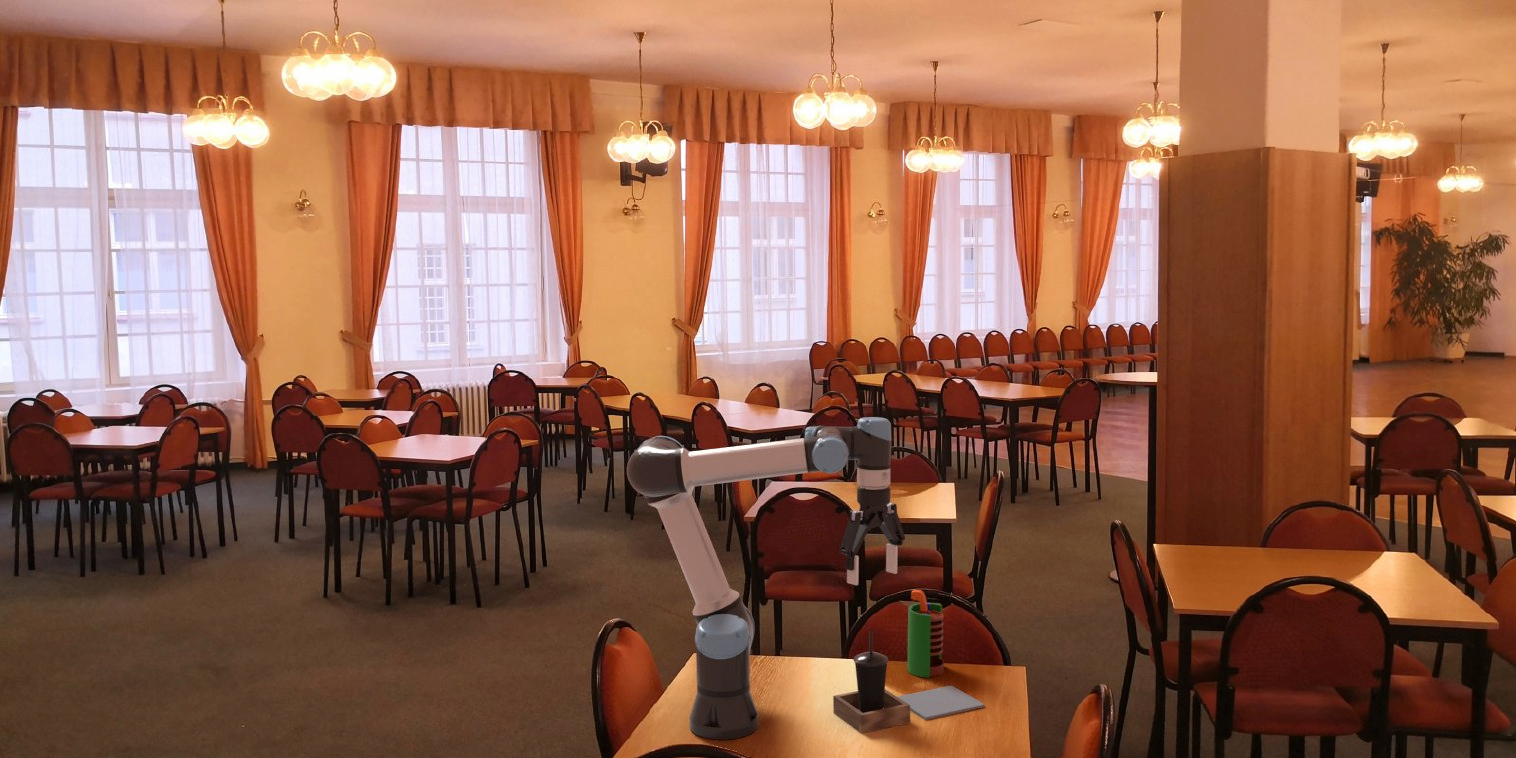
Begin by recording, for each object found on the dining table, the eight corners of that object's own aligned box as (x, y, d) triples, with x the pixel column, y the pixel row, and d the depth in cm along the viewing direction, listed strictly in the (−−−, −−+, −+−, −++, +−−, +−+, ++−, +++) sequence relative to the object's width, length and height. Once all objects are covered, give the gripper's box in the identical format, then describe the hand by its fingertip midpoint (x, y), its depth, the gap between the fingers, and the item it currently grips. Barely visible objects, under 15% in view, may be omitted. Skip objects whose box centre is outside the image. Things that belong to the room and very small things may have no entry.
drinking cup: (850, 722, 247) (850, 634, 244) (857, 709, 254) (857, 624, 252) (885, 726, 244) (884, 637, 242) (891, 712, 252) (891, 626, 250)
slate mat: (925, 720, 247) (925, 717, 247) (894, 699, 259) (894, 697, 259) (984, 706, 254) (984, 704, 254) (951, 687, 266) (951, 685, 266)
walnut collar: (861, 733, 241) (861, 715, 240) (833, 713, 252) (833, 695, 252) (910, 722, 246) (910, 705, 246) (880, 703, 257) (880, 686, 257)
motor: (943, 678, 272) (943, 598, 270) (906, 676, 273) (905, 597, 271) (944, 664, 282) (944, 586, 280) (908, 662, 283) (908, 585, 281)
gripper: (849, 496, 241) (848, 592, 243) (921, 481, 258) (919, 570, 260) (823, 491, 246) (822, 585, 248) (896, 476, 263) (894, 564, 265)
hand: (872, 578), depth 254 cm, fingers open, 13 cm apart
